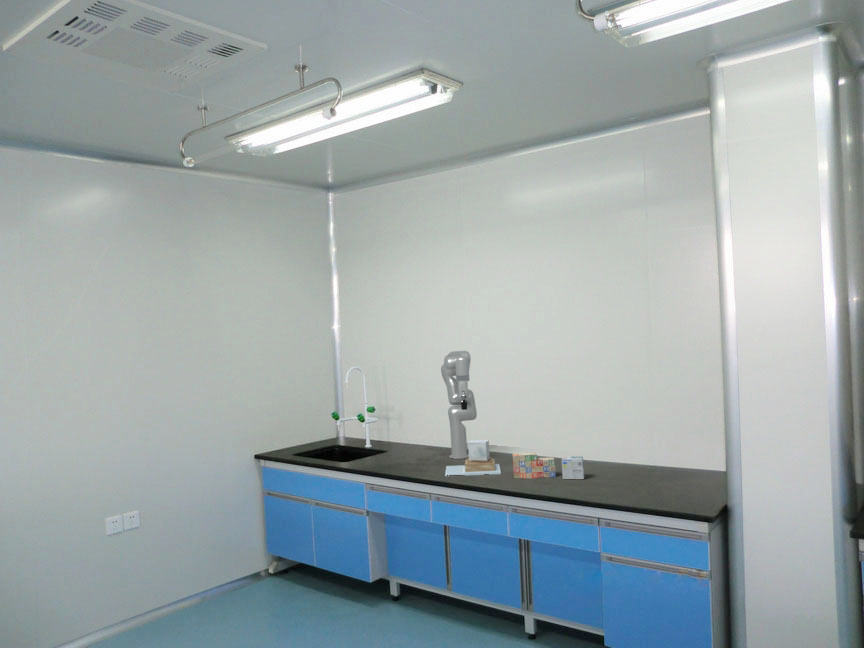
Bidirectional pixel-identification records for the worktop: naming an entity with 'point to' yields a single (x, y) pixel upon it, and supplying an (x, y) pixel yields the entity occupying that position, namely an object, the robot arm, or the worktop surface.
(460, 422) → the robot arm
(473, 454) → the skincare box
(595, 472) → the worktop surface
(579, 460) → the light bulb box
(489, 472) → the board
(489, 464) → the wooden plinth
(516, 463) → the stack of blocks
